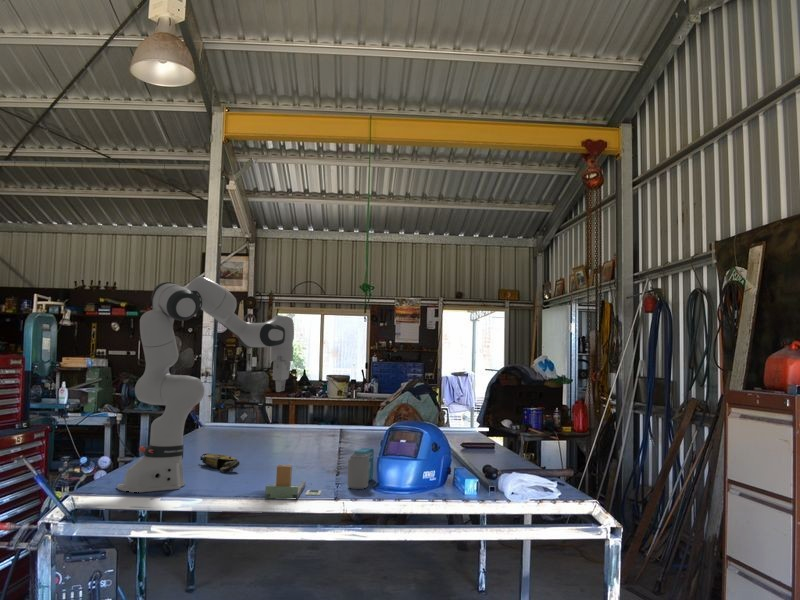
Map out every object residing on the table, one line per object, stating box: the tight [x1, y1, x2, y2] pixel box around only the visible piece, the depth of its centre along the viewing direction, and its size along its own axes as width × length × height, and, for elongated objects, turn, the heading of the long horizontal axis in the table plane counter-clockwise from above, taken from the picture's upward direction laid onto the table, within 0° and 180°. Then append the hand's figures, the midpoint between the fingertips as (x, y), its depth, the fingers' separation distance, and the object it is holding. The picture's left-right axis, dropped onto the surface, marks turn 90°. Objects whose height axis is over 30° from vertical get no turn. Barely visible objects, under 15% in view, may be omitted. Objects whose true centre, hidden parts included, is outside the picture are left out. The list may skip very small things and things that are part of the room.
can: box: [347, 453, 369, 490], centre depth 242 cm, size 8×8×12 cm
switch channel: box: [264, 481, 323, 500], centre depth 231 cm, size 24×17×4 cm
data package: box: [353, 447, 375, 482], centre depth 257 cm, size 12×4×12 cm, turn 166°
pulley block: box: [199, 453, 240, 473], centre depth 277 cm, size 14×6×30 cm
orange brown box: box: [275, 464, 293, 486], centre depth 224 cm, size 4×4×10 cm
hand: (280, 391), depth 263 cm, fingers open, 8 cm apart
